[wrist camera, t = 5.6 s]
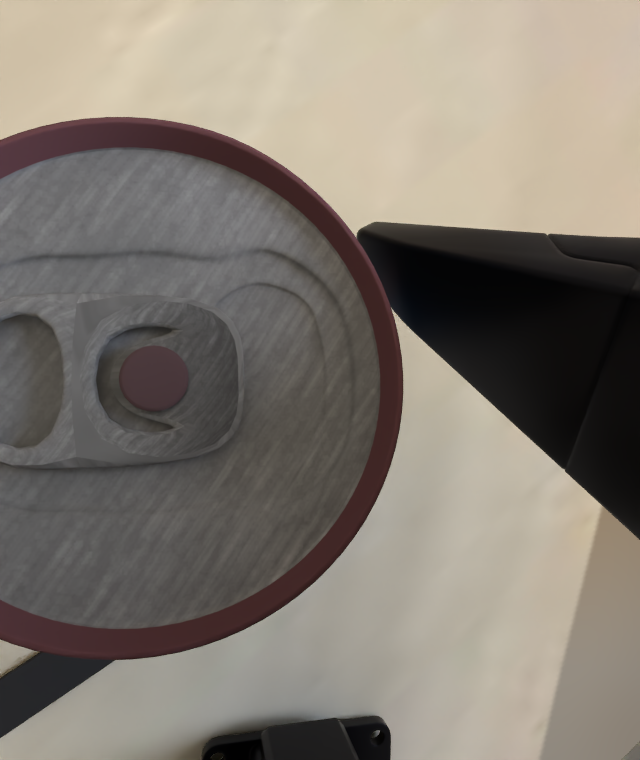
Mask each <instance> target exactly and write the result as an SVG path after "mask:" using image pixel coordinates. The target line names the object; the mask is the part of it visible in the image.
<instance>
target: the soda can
mask: <svg viewBox="0 0 640 760" xmlns="http://www.w3.org/2000/svg"><path fill="white" fill-rule="evenodd" d="M402 403H403V368H402V356H401V350H400V343H399V337H398V333H397V328H396V324H395V320H394V316H393V313H392V310H391V307H390V303H389V301H388V298H387V295H386V293H385V290H384V288H383V285H382V283H381V281H380V279H379V277H378V275H377V272H376V270H375V268H374V266H373V265H372V263H371V261H370V259H369V258H368V256H367V254H366V252H365V251H364V249H363V248H362V246H361V245H360V243H359V242H358V240H357V239H356V237H355V236H354V234H353V233H352V232H351V230H350V229H349V228H348V226H347V225H346V224H345V223H344V221H343V220H342V219H341V218H340V217H339V216H338V214H337V213H336V212H335V211H334V210H333V209H332V208H331V207H330V206H329V205H328V204H327V203H326V202H325V201H324V200H323V199H322V198H321V197H320V196H319V195H318V194H317V193H316V192H315V191H314V190H313V189H312V188H310V187H309V186H308V185H307V184H306V183H305V182H303V181H302V180H301V179H300V178H298V177H297V176H296V175H295V174H293V173H292V172H291V171H289V170H288V169H287V168H285V167H284V166H282V165H281V164H279V163H278V162H276V161H275V160H273V159H271V158H270V157H268V156H267V155H265V154H263V153H261V152H259V151H258V150H256V149H254V148H252V147H250V146H248V145H246V144H244V143H242V142H239V141H237V140H235V139H233V138H230V137H228V136H225V135H222V134H219V133H216V132H214V131H210V130H207V129H203V128H200V127H196V126H192V125H187V124H182V123H177V122H172V121H165V120H157V119H148V118H133V117H104V118H90V119H80V120H73V121H66V122H60V123H55V124H51V125H46V126H41V127H38V128H34V129H31V130H28V131H24V132H21V133H18V134H15V135H12V136H10V137H7V138H4V139H2V140H0V639H1V640H3V641H6V642H9V643H11V644H14V645H18V646H21V647H25V648H28V649H31V650H35V651H39V652H44V653H49V654H54V655H58V656H65V657H73V658H82V659H98V660H123V659H139V658H148V657H157V656H162V655H167V654H173V653H178V652H182V651H186V650H189V649H193V648H197V647H201V646H204V645H207V644H209V643H212V642H215V641H218V640H221V639H224V638H226V637H228V636H230V635H233V634H235V633H237V632H240V631H242V630H244V629H246V628H248V627H250V626H252V625H254V624H256V623H257V622H259V621H261V620H263V619H265V618H266V617H268V616H269V615H271V614H273V613H274V612H276V611H278V610H279V609H281V608H282V607H284V606H285V605H286V604H288V603H289V602H290V601H292V600H293V599H295V598H296V597H297V596H299V595H300V594H301V593H302V592H303V591H305V590H306V589H307V588H308V587H309V586H310V585H312V584H313V583H314V582H315V581H316V580H317V579H318V578H319V577H320V576H321V575H322V574H323V573H324V572H325V571H326V570H327V569H328V568H329V567H330V566H331V565H332V564H333V563H334V562H335V560H336V559H337V558H338V557H339V556H340V555H341V554H342V553H343V551H344V550H345V549H346V547H347V546H348V545H349V543H350V542H351V541H352V539H353V538H354V537H355V535H356V534H357V532H358V531H359V529H360V528H361V526H362V525H363V523H364V521H365V520H366V518H367V516H368V515H369V513H370V511H371V509H372V507H373V506H374V504H375V502H376V500H377V497H378V495H379V493H380V491H381V489H382V487H383V484H384V482H385V479H386V476H387V474H388V471H389V468H390V465H391V462H392V458H393V455H394V452H395V448H396V443H397V439H398V434H399V429H400V422H401V414H402Z"/></svg>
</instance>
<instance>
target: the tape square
mask: <svg viewBox="0 0 640 760" xmlns="http://www.w3.org/2000/svg"><path fill="white" fill-rule="evenodd" d="M113 661H114V660H98V659H82V658H73V657H65V656H58V655H54V654H49V653H44V652H40V653H38V654H37V655H35V656H34V657H32V658H31V659H29V660H28V661H26V662H25V663H23V664H21V665H20V666H18V667H17V668H15V669H14V670H12V671H11V672H9V673H8V674H6V675H4V676H3V677H1V678H0V738H1V737H2V736H4V735H5V734H7V733H8V732H10V731H11V730H13V729H14V728H16V727H17V726H19V725H20V724H22V723H23V722H24V721H26V720H27V719H29V718H30V717H32V716H33V715H35V714H36V713H38V712H39V711H41V710H42V709H44V708H45V707H47V706H48V705H50V704H51V703H52V702H54V701H55V700H57V699H58V698H60V697H61V696H63V695H64V694H66V693H67V692H69V691H70V690H72V689H73V688H75V687H76V686H78V685H79V684H81V683H82V682H83V681H85V680H86V679H88V678H89V677H91V676H92V675H94V674H95V673H97V672H98V671H100V670H101V669H103V668H104V667H106V666H107V665H109V664H110V663H111V662H113Z"/></svg>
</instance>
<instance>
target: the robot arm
mask: <svg viewBox="0 0 640 760" xmlns="http://www.w3.org/2000/svg"><path fill="white" fill-rule="evenodd" d="M357 240H358V242H359V243H360V245H361V246H362V248H363V249H364V251H365V252H366V254H367V256H368V258H369V259H370V261H371V263H372V265H373V266H374V268H375V270H376V272H377V275H378V277H379V279H380V281H381V283H382V285H383V288H384V290H385V293H386V295H387V298H388V301H389V303H390V307H391V308H392V309H393V310H394V312H395V313H396V314H397V315H398V316H399V317H400V319H401V320H402V321H403V322H404V323H405V324H406V325H407V326H408V327H409V328H410V329H411V330H412V331H413V332H414V333H415V334H416V335H418V336H419V337H420V338H421V339H422V340H423V341H424V342H425V343H426V344H427V345H428V346H430V347H431V348H432V349H433V350H434V351H435V352H436V353H437V354H438V355H439V356H440V357H441V358H443V359H444V360H445V361H446V362H447V363H448V364H449V365H450V366H451V367H452V368H453V369H455V370H456V371H457V372H458V373H459V374H460V375H461V376H462V377H463V378H464V379H465V380H467V381H468V382H469V383H470V384H471V385H472V386H473V387H474V388H475V389H476V390H477V391H479V392H480V393H481V394H482V395H483V396H484V397H485V398H486V399H487V400H488V401H489V402H491V403H492V404H493V405H494V406H495V407H496V408H497V409H498V410H499V411H500V412H501V413H503V414H504V415H505V416H506V417H507V418H508V419H509V420H510V421H511V422H512V423H513V424H515V425H516V426H517V427H518V428H519V429H520V430H521V431H522V432H523V433H524V434H525V435H526V436H528V437H529V438H530V439H531V440H532V441H533V442H534V443H535V444H536V445H537V446H538V447H540V448H541V449H542V450H543V451H544V452H545V453H546V454H547V455H548V456H549V457H550V458H552V459H553V460H554V461H555V462H556V463H557V464H558V465H559V466H560V467H561V468H563V469H565V472H566V473H567V474H569V475H570V476H571V477H572V478H573V479H574V480H575V481H576V482H577V483H578V484H579V485H581V486H582V487H583V488H584V489H585V490H586V491H587V492H588V493H589V494H590V495H591V496H593V497H594V498H595V499H596V500H597V501H598V502H599V503H600V504H601V505H602V506H603V507H605V508H606V509H607V510H608V511H609V512H610V513H612V515H613V516H614V517H615V518H617V519H618V520H619V521H620V522H621V523H622V524H623V525H625V527H626V528H628V529H629V530H630V531H631V532H632V533H633V534H634V535H635V536H636V537H637V538H639V540H640V238H629V237H596V236H577V235H561V234H549V235H548V236H547V235H546V234H545V233H531V232H517V231H502V230H488V229H473V228H459V227H444V226H430V225H415V224H401V223H386V222H374V223H371V224H369V225H367V226H365V227H363V228H361V229H360V230H359V231H358V232H357ZM376 730H380V733H379V735H378V736H377V737H375V738H371V735H372V733H373V732H374V731H376ZM216 753H222V754H223V755H224V756H223V757H222V759H221V760H390V755H391V735H390V730H389V728H388V727H387V725H386V723H385V722H384V720H383V719H382V718H380V717H379V716H370V717H362V718H355V719H347V720H340V721H339V720H338V719H336V718H332V719H324V720H317V721H309V722H302V723H294V724H287V725H279V726H271V727H268V728H267V729H266V730H265V731H258V732H250V733H243V734H235V735H228V736H220V737H216V738H213V739H211V740H210V741H208V742H207V743H206V745H205V746H204V748H203V750H202V755H201V760H211V759H210V758H211V757H212V756H213V754H216ZM622 760H640V742H639V743H638V744H637V745H636V746H635V747H634V748H633V749H632V750H631V751H630V752H629V753H628V754H627V755H626V756H625V757H624V758H623V759H622Z"/></svg>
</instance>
